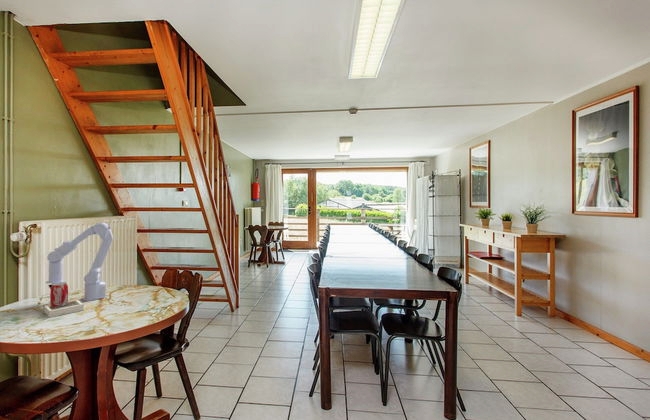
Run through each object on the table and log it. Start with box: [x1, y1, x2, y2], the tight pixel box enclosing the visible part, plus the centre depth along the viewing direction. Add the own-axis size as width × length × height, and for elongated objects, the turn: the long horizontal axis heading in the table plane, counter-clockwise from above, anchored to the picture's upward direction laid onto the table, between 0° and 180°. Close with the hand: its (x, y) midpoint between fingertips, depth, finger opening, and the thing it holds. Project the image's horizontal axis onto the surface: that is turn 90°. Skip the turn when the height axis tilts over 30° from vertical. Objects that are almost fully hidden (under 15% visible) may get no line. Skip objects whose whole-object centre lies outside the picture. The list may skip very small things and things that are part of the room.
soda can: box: [49, 281, 69, 309], centre depth 157 cm, size 7×7×12 cm
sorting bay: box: [44, 299, 85, 318], centre depth 149 cm, size 13×12×3 cm
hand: (55, 297), depth 162 cm, fingers closed
